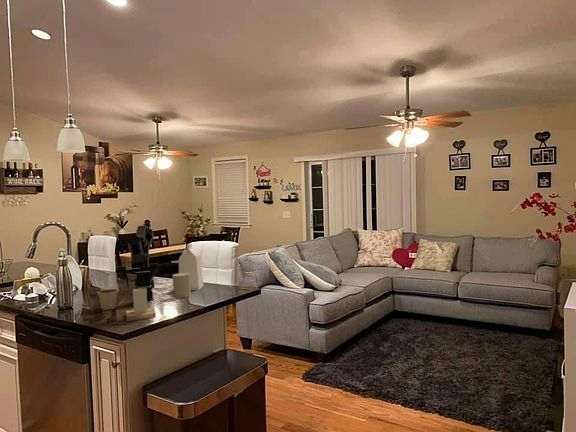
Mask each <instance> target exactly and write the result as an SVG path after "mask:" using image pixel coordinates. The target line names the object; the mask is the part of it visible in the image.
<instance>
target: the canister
mask: <svg viewBox="0 0 576 432" xmlns="http://www.w3.org/2000/svg"><path fill="white" fill-rule="evenodd" d="M132 297H133V300H132V301H133V310H134V314H136V313H145V312H147V308H148V301H147V290H146V288H138V289H136V288H133V289H132Z"/></svg>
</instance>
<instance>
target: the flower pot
mask: <svg viewBox="0 0 576 432" xmlns="http://www.w3.org/2000/svg"><path fill="white" fill-rule="evenodd" d="M118 292H119V290H118V289H117V288H109V289H102V290H98V291H96V293H97V294H98V297H99V302H100V308H101V310H104V311H107V310H114V309H115V308H116V306H117V305H116V304H117V296H118V295H117V294H118Z"/></svg>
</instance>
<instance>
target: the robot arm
mask: <svg viewBox="0 0 576 432" xmlns="http://www.w3.org/2000/svg"><path fill="white" fill-rule="evenodd" d="M135 232H136V233H135V234H131V236H129V237H128V238H127V240H126V242H127V245H128V249H129V251H130V265H131V266H130V267H127V268H126V265H120V266H117V267H116V268H115V269H116V278H117V279H119V280H123V281H124V283H125V284H126V287H127V288H129V287H130V285H129V278H128V274H132V273H133V274H134V273H135V274H136V275H135V276H136V277H135V278H134V285H135V286H134V287H135V289H138V288H146V290H147V302H149V301H152V300H154V299H155V297H154V294H153V289H155V280H154V277H157V276H158V275H159V274H160V264H159V263H158V262H156V263H155V262H152V263H150V262H149V261H150V259H149V258H150V246H151V245H152V244H153V239H154V231H153V229H152V228H149V226H148V225H138V226H137V229H136V231H135Z"/></svg>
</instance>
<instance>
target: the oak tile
mask: <svg viewBox="0 0 576 432" xmlns="http://www.w3.org/2000/svg"><path fill="white" fill-rule="evenodd" d="M125 312H126V315H125V316H126V322H129V321H137V320H145V319H153V318H156V317H157V315H156V310H155V307H154V306H153V307H152V306H151V307H147V312H145V313H136V314H134V309H130V310H126V311H125Z"/></svg>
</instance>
